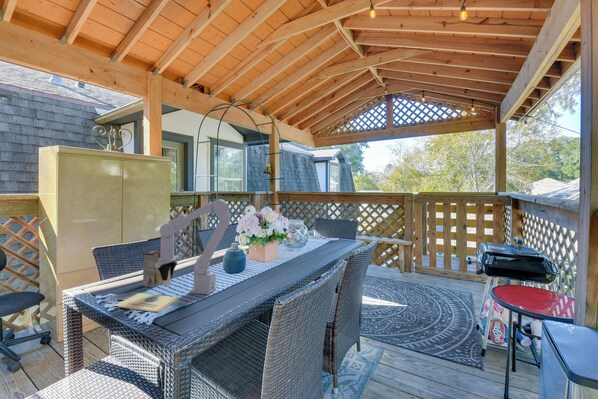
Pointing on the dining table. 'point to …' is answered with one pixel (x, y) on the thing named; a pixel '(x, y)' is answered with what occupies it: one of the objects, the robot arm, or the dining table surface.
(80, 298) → the dining table surface
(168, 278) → the marker
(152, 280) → the coffee box
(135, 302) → the writing pad
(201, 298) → the dining table surface
